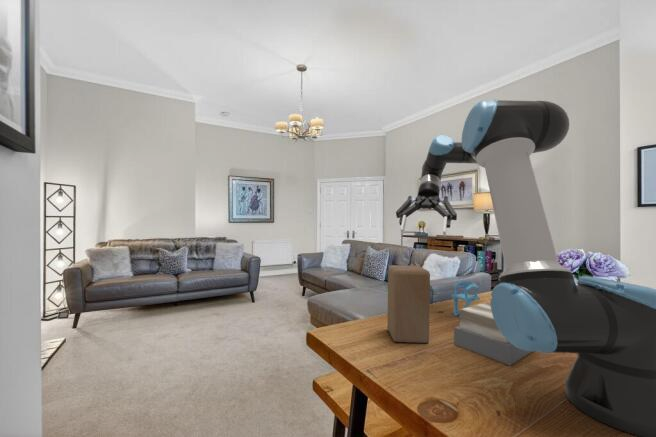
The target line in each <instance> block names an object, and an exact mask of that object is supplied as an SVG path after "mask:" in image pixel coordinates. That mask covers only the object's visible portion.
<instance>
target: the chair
mask: <svg viewBox="0 0 656 437" xmlns="http://www.w3.org/2000/svg"><path fill="white" fill-rule="evenodd" d="M459 286H461V287H463V292H461V293H458V290H457V287H459ZM452 287H453V290H454V292H453V294H451V297H452V299H453V316H454V317H457V316H459V319H460V310H458V302H459V299H460V300H462V301H463V302H465V304H464V306H463V308H467V307H470V304H472V303H473V302H475V301H478V300H480V298H481V297H480V296H479V295H478V291H479V288H480V287H479V285H477V284H476V283H475V282H473V281H458V282H456V283H455V284H454V285H452ZM471 289H474V290H475V291H474V294H473V295H472V294H469V293H468V292H469V291H470V290H471Z"/></svg>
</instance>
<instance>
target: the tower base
mask: <svg viewBox="0 0 656 437" xmlns="http://www.w3.org/2000/svg"><path fill="white" fill-rule="evenodd" d="M453 330H454V331H453V333H454V336H453V345H455V346H458V347H461V348H463V349H466V350H469V351H471V352H474V353H476V354H479V355H481V356H483V357H487V358H489V359H493V360H495V361H497V362H500V363H503V364H505V365H508V366H512V365H513V364H515V363H517V362H518V361H519V360H521V359H523V358H524V357H526V356H527V355H528V354H529V355H530V354H531V353H532V352H533V351H525V350H521V349H519V348H517V347H515V346H514V345H512V344H511V343H510V342H509V343H507V344H506V343H503V342H500V341H497V340H495V339H492V338H489V337H486V336H483V335H480V334H477V333H474V332H471V331H468V330H465V329H462V328H460V325H457V326H456V327H454V329H453Z"/></svg>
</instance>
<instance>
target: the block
mask: <svg viewBox="0 0 656 437" xmlns="http://www.w3.org/2000/svg"><path fill="white" fill-rule="evenodd" d="M387 273H388V274H387V275H388V276H387V323H386V324H387V326H386V327H387V330H388V332H389V334H390V336H391V338H392V340H393V342H395V343H419V344H422V343H423V344H426V343H429V341H430V306H431V305H430V303H431V302H430V301H431V300H430V299H431V298H430V297H431V272H430V271H429V270H427V269H425V268H424V267H421V266H419V265H405V264H404V265H399V264H397V265H396V264H395V265H394V264H392V265H389V266H388V271H387Z"/></svg>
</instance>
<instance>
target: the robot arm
mask: <svg viewBox="0 0 656 437" xmlns="http://www.w3.org/2000/svg"><path fill="white" fill-rule="evenodd" d="M569 130H570V119H569V116H568V113H567V112H566V110H565V109H563V107H561V106H560V105H559V104H557V103H554V102H551V101H547V100H501V99H493V100H482V101H479V102H477V103H476V104H474V105H473V107H472V108H471V109H470V110H469V112H468V114H467V117H466V119H465V121H464V124H463V129H462V132H461V142H459V141H457V142H455V141H454V139H453V138H452V137H450V136H447V135H445V134H442V135H441V134H440V135H436V136H435V137H434V138H433V139H432V142H431V144H430V146H429V148H428V152H427V155H426V158H425V160H424V161H423V165H422V167H421V175H420V176H421V177H420V180H419V186H418V190H417V191H418V192H417V196H416V197H412V195H409V196H407V200H405V201H404V203H403V204H402V205H401V206H400V207H399V208H398V209H397V210H396V211H395V216H396V219H399V221H398V222H399V223H398V224H399V226H400V233H401V235H404V233H405V231H406V230H405V228H406V224H407V218H408V217H409V216H410V215H412V214H414V213H415V212H417V211H420V210H426V209H427V210H432V209H433V210H434V211H435V212H437V213H438V214H439V215H441V217H442V218H444V220H443V228H442V229H443V230H442V234H443V235H442V236H443V237H445V238H446V237H447V229H450V228H451V224H452V221H456V220H457V219H458V216H457V215H458V214H457V212H456V211H455V209H454V207H453V206H452V204H451V203H450V201H449V198H448V197H449V196H446V195H445V196H443V197H441V198H440V190H441V180H442V175H443V172H444V170H445V168H446V165H447V164H476V165H478V166H479V167H482V168H484V170H485V174H486V179H487V184H488V189H489V195H490V198H491V205H492V208H493V214H494V218H495V223H496V224H495V225H496V228H497V233H498V237H499V244H500V248H501V252H502V257H503V262H504V267H505V268H504V270H503V271H502V272H501V273H500V275H499V276H498V280H499V284H497V285H495V286H494V287H493V289H492V290H491V293H490V296H491V298H490V305H491V310H492V314H493V318H494V320H495V323H496V325H497V327H498V329H499V330H500V332H501V333H502V335H503V336H505V338H506V339H507V340H508V341H509V342H510V343H511V344H512V345H514V346H515V347H517V348H519V349H521V350H525V351H532V352H538V353H541V354H552V353H556V354H557V353H559V354H561V353H562V354H563V353H565V354H567V353H570V354H577V355H576V356H577V357H576V358H575V361H574V363H573V365H572V367H571V369H570V371H569V373H568V375H567V377H566V380H565V390H564V391H565V396H566V398H567V399H568V401H569V402H570V403H571V404H572V405H573V406H575V407H576V408H577V409H579V410H580V411H581V412H582V413H584V414H586V415H587V416H589V417H591V418H593V419H595V420H597V422H598V421H599V422H601V423H603V424H605V425H606V426H607V425H608V426H610V427H612V428H614V429H617V430H620V431H622V432H625V433H628V434H630V435H631V434H632V435H634V436H639V437H656V288H653V287H648V286H645V285H639V284H635V283H628V282H623V281H619V280H618V281H617V280H613V279H606V278H602V277H601V278H600V277H594V276H588V275H587V276H586V275H582V276H581V275H580V277H578V280H577V282H576V281H575V278H574V275H573V272H572V270H570V269H569V268H567V267H565V266H563V265H562V264H560V263H559V260H558V255H557V253H556V249H555V245H554V241H553V239H552V234H551V230H550V227H549V226H550V225H549V223H548V220H547V217H546V212H545V208H544V205H543V201H542V198H541V194H540V190H539V187H538V184H537V180H536V176H535V172H534V170H533V166H532V161H531V158H530V156H531V155H532V154H535V153H541V152H546V151H549V150H552V149H553V148H554V149H555V148H556V147H557V146H558V145H560V143H562V141H563V140H565V138H566V137H567V135H568V133H569ZM440 203H441V204H442V205H443V206H441V205H440ZM576 283H577V284H576Z"/></svg>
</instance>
